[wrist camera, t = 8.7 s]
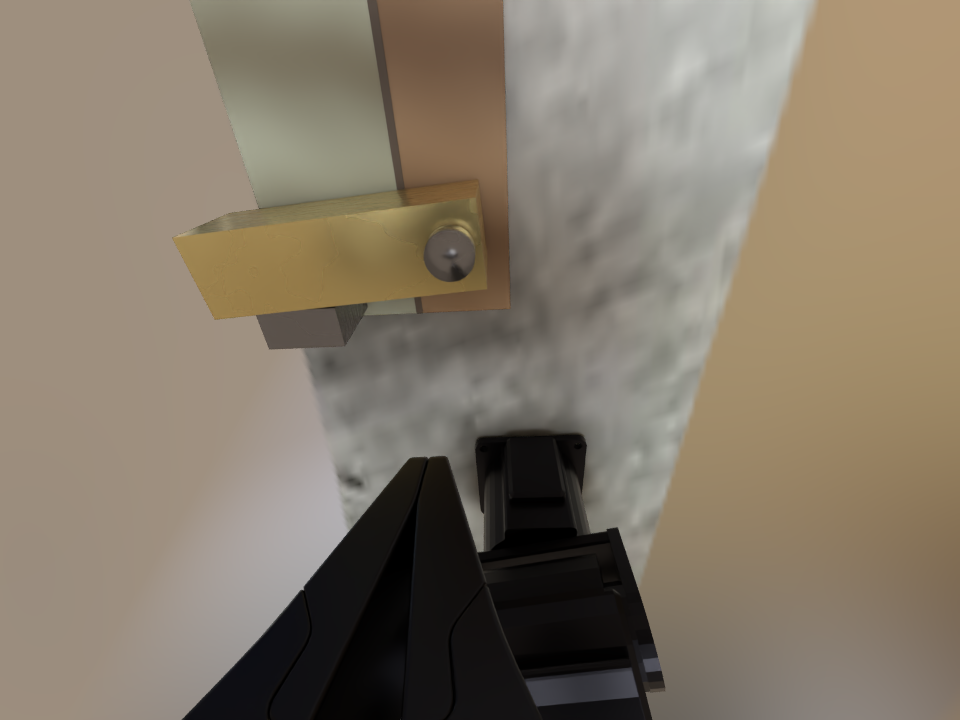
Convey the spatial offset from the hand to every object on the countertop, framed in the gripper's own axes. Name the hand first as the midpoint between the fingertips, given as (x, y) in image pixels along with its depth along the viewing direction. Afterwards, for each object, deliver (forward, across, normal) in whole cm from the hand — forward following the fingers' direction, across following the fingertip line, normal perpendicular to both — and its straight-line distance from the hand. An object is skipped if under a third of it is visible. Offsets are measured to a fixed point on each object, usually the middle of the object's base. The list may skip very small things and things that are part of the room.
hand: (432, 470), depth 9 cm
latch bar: (+10, +4, -3) cm, 11 cm away
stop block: (+11, +6, 0) cm, 12 cm away
